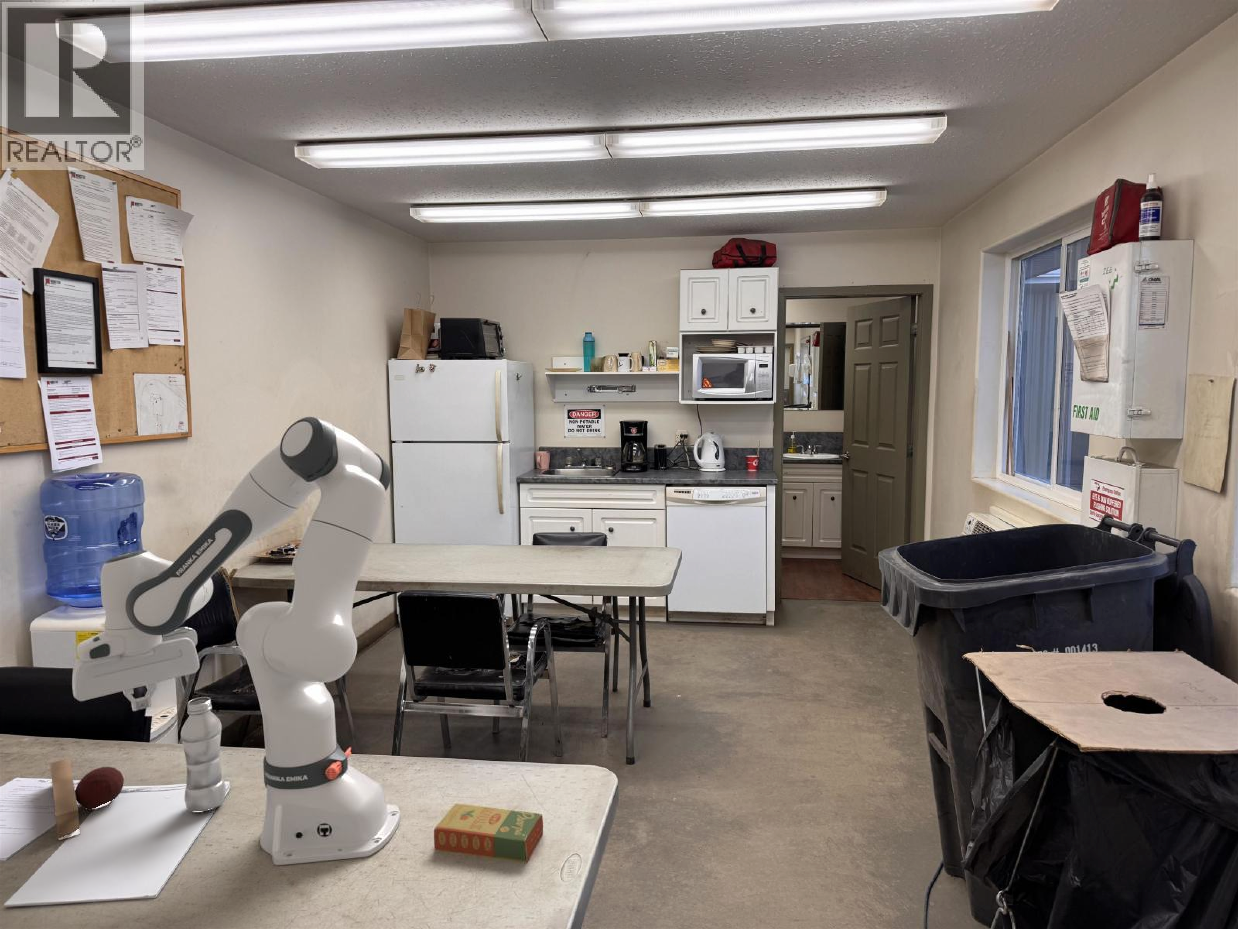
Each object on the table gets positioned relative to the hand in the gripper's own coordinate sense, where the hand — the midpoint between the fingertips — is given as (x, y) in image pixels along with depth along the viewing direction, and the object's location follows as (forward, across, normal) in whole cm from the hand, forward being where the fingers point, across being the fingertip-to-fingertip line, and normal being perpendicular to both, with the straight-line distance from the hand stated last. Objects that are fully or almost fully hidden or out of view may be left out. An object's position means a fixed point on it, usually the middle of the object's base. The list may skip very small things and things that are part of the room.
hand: (141, 708), depth 143 cm
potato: (+16, +8, +1) cm, 18 cm away
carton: (+17, -38, +61) cm, 74 cm away
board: (+15, +13, -2) cm, 20 cm away
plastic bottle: (+16, -6, +16) cm, 23 cm away
